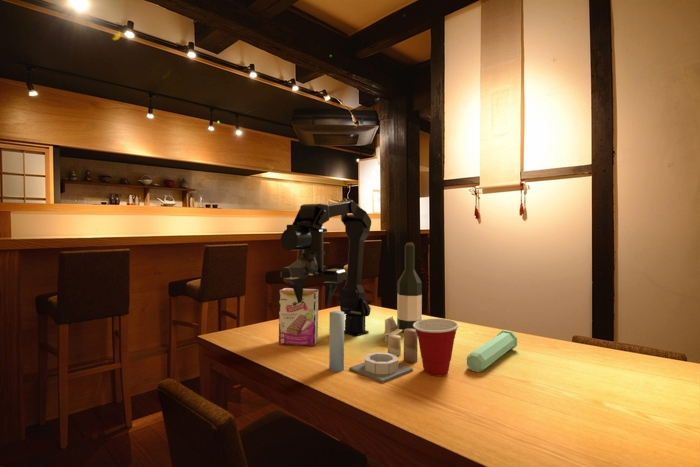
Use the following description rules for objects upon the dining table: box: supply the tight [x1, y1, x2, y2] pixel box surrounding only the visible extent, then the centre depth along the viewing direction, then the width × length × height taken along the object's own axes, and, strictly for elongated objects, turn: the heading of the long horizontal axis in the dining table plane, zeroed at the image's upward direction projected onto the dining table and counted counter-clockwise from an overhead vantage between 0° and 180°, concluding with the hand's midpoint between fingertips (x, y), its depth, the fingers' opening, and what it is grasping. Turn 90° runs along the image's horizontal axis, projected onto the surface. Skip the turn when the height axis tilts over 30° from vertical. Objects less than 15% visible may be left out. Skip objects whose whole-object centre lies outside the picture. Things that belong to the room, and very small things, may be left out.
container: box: [466, 329, 518, 373], centre depth 102 cm, size 6×6×25 cm
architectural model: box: [383, 316, 402, 344], centre depth 117 cm, size 3×7×7 cm, turn 149°
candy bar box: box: [278, 287, 319, 347], centre depth 115 cm, size 11×5×16 cm, turn 84°
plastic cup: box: [413, 318, 459, 377], centre depth 93 cm, size 11×11×12 cm
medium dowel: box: [403, 329, 419, 364], centre depth 101 cm, size 4×4×8 cm
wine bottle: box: [396, 242, 423, 334], centre depth 131 cm, size 8×8×30 cm
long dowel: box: [328, 310, 345, 373], centre depth 94 cm, size 4×4×14 cm
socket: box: [348, 351, 414, 384], centre depth 93 cm, size 11×11×3 cm
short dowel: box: [387, 334, 402, 358], centre depth 105 cm, size 4×4×5 cm
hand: (313, 304), depth 107 cm, fingers open, 9 cm apart
